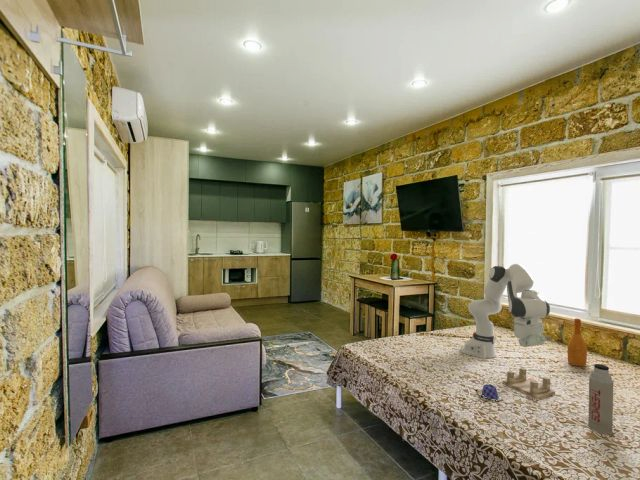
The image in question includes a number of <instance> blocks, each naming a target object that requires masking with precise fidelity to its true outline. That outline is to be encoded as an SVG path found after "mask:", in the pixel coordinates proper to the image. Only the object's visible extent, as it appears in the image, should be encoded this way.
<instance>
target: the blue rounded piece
mask: <svg viewBox="0 0 640 480" xmlns="http://www.w3.org/2000/svg"><path fill="white" fill-rule="evenodd" d="M480 390H482V394H481V395H484V396H485V397H487V398H491V400H492V399H494V400H492V401H494V402H496V401H501V400H503V398H504V397H503V395H502V394H501V393H499V392H498V391H497V387H496V386H495V385H493V384H489V383H488V384H487V383H486V384H484V385H483V386H482V388H481V389H480ZM498 395H499V396H500V397H501V399H500V400H496V399H497V398H499V397H498ZM495 400H496V401H495Z"/></svg>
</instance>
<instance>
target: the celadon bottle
mask: <svg viewBox="0 0 640 480" xmlns="http://www.w3.org/2000/svg"><path fill="white" fill-rule="evenodd" d="M552 339H553V336H552V335H550V334H546V335H543V334H534V335H530V336H529V337H526V339H525V340H526V342H527V345H523V344H522V340H521V338H518V344H519V345H520V346H521V347H522V348H527V347H534V346H541V345H544V344H545V342H548V341H552Z"/></svg>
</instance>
